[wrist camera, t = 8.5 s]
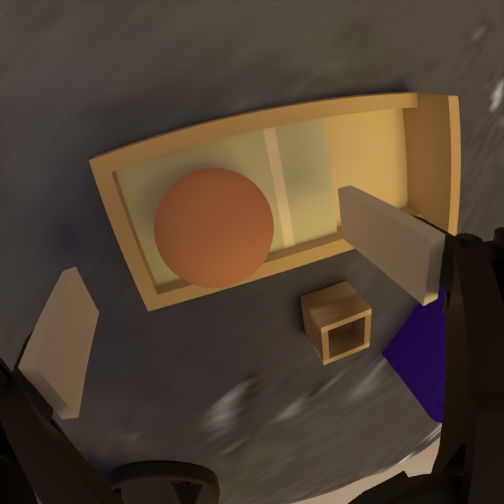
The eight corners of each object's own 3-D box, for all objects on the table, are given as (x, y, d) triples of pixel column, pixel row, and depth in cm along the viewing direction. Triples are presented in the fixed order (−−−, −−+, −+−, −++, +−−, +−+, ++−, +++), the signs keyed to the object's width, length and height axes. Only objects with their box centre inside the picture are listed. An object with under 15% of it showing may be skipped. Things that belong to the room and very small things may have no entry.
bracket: (381, 352, 31) (441, 432, 21) (440, 267, 28) (523, 335, 17) (450, 365, 38) (495, 417, 28) (493, 304, 35) (547, 351, 24)
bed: (149, 294, 21) (147, 342, 17) (97, 154, 16) (73, 172, 12) (414, 213, 24) (456, 238, 19) (408, 91, 19) (457, 95, 15)
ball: (173, 266, 20) (177, 326, 14) (143, 176, 17) (130, 208, 12) (265, 239, 20) (298, 290, 15) (246, 147, 18) (279, 167, 12)
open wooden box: (305, 332, 26) (323, 365, 23) (300, 296, 24) (320, 328, 21) (347, 317, 27) (369, 346, 23) (346, 280, 25) (371, 308, 21)
